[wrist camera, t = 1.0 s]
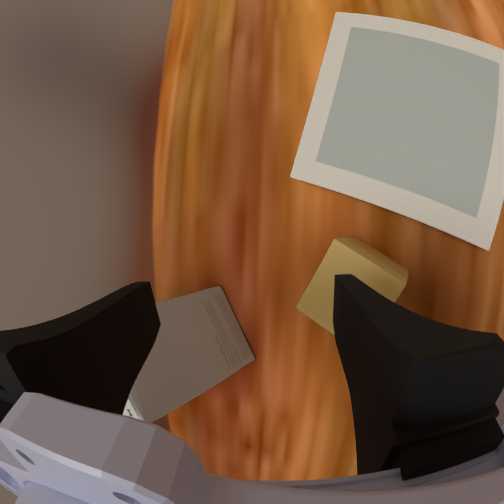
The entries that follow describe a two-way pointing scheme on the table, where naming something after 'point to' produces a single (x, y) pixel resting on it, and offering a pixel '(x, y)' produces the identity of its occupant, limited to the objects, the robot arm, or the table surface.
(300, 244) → the table surface
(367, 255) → the block
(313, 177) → the base
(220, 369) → the supplement box
